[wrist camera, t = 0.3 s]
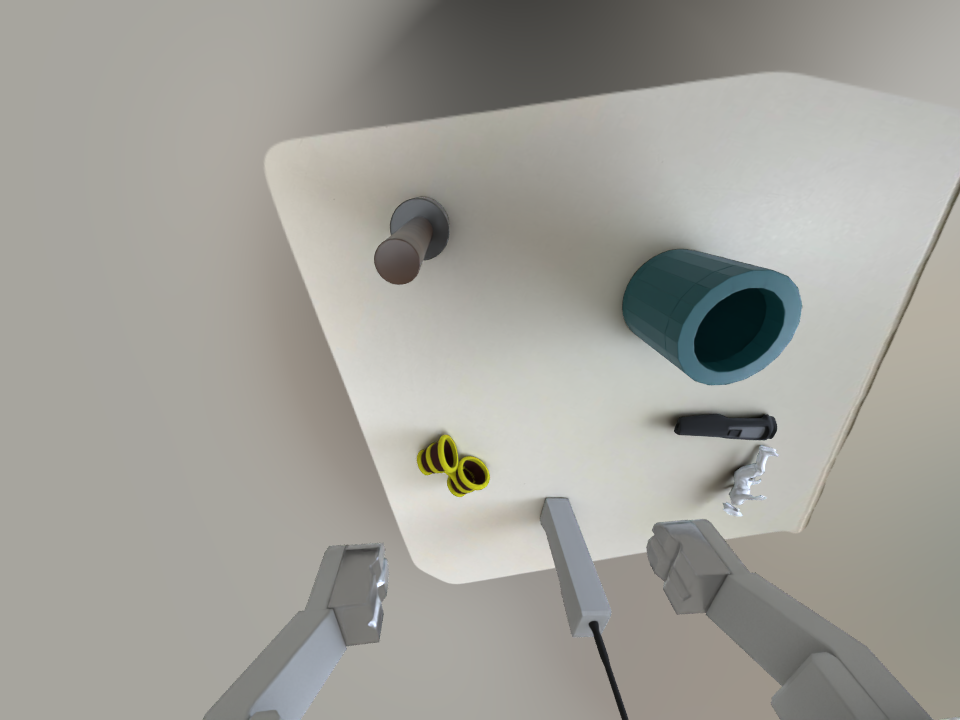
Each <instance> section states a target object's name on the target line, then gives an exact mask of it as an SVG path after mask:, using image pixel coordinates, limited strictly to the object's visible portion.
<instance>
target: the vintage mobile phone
mask: <svg viewBox="0 0 960 720" xmlns="http://www.w3.org/2000/svg"><path fill="white" fill-rule="evenodd" d="M540 522H541V525H542V527H543V528H544V530H545V532H546V535H547V539H548V542H549V546H550V549H551V553H552V556H553V560H554V564H555V567H556V571H557V574H558V577H559V581H560V587H561V594H562V598H563V602H564V606H565V611H566V614H567V619H568V622H569V626H570V630H571V634H572V637H594V638H595V642H596V645H597V648H598V651H599V654H600V657H601V659H602V662H603V664H604V666H605V669H606V672H607V675H608V678H609V681H610V684H611V687H612V690H613V693H614V696H615V699H616V702H617V706H618V709H619V712H620V715H621V718H622V720H628V717H627V714H626V711H625V708H624V705H623V702H622V699H621V696H620V693H619V690H618V687H617V684H616V681H615V678H614V676H613V672H612V669H611V666H610V662H609V658H608V654H607V652H606V648H605V645H604V643H603V640H602V637H601V634H602V632H603V630H604V628H605V626H606V624H607V622H608V620H609V618H610V616H611V608H610V606H609V603H608V600H607V598H606V596H605V593H604V590H603V587H602V585H601V582H600V580H599V577H598V575H597V572H596V569H595V567H594V564H593V561H592V559H591V556H590V554H589V551H588V548H587V546H586V543H585V541H584V538H583V536H582V533H581V530H580V528H579V525H578V523H577V520H576V517H575V515H574V512H573V510H572V507H571V504H570V502H569V499H567V498H546V500H545V504H544V507H543V510H542V514H541V517H540Z"/></svg>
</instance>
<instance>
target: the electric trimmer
mask: <svg viewBox="0 0 960 720" xmlns="http://www.w3.org/2000/svg"><path fill="white" fill-rule="evenodd" d="M776 431H777V424H776V421H775V418H774V417H772V416H769V415H768V414H765V415H764V416H763V417H762V418H727V417H725V416H723V415H721V414H710V415H699V416H690V417H681V418H679V420H678V422H677V424H676V426H675V429H674V432H675V433H676V434H678V435H691V436H708V437H722V438H729V439H745V440H767V439H772V438H773V437H774V435H775V433H776Z"/></svg>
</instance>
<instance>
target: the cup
mask: <svg viewBox="0 0 960 720" xmlns="http://www.w3.org/2000/svg"><path fill="white" fill-rule="evenodd" d="M801 309H802V302H801V298H800V294H799V290H798V287H797V286H796V285H795V284H794V283H793V281H792V280H791V279H790V278H789V277H788V276H786V275H784V274H781V273H779V272H776V271H774V270H770V269H766V268H762V267H758V266H754V265H751V264H747V263H743V262H739V261H735V260H731V259H727V258H723V257H719V256H715V255H711V254H707V253H703V252H699V251H694V250H688V249H675V250H670V251H666V252H664V253H661V254H659V255H657V256H655V257H653V258H652V259H650V260H649V261H647V262H646V263H645V264H644V265H643V266H642V267H641V268H640V269H639V270H638V271H637V272H636V273H635V274H634V276H633V277H632V279H631V280H630V282H629V284H628V286H627V288H626V291H625V294H624V297H623V305H622V310H623V316H624V320H625V322H626V324H627V326H628V327H629V329H630V330H631V331H632V332H633V333H634V334H636V335H637V336H638V337H639V338H641V339H642V340H643V341H644V342H646V343H647V344H648V345H650V346H651V347H652V348H653V349H655V350H656V351H657V352H659V353H660V354H661V355H662V356H664V357H665V358H666V359H667V360H669V361H670V362H671V363H673V364H674V365H675V366H676V367H678V368H679V369H680V370H682V371H683V372H684V373H685V374H687V375H688V376H689V377H691V378H692V379H693V380H694V381H697V382H700V383H704V384H707V385H726V384H731V383H734V382H737V381H741V380H744V379H746V378H748V377H750V376H752V375H754V374H756V373H757V372H759V371H761V370H762V369H764V368H765V367H766V366H768V365H769V364H770V363H771V362H772V361H773V360H775V359H776V358H777V357H778V356H779V355H780V354H781V352H782V351H783V350H784V349H785V347H786V346H787V345H788V343H789V342H790V341H791V339H792V337H793V335H794V333H795V331H796V329H797V327H798V324H799V322H800V316H801Z"/></svg>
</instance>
